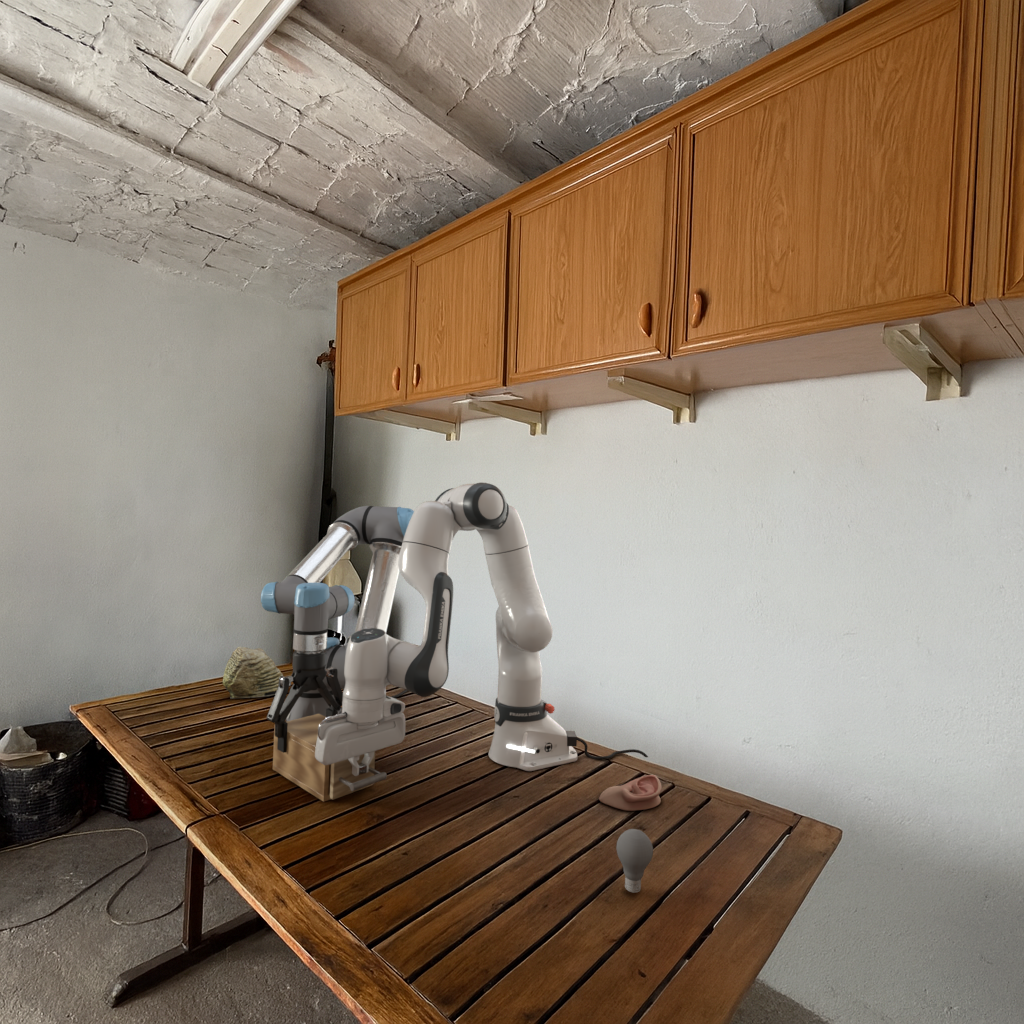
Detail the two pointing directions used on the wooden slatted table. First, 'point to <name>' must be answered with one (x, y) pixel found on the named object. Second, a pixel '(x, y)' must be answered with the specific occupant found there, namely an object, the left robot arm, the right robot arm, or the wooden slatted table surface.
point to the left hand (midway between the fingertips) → (306, 743)
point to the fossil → (251, 674)
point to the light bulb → (634, 857)
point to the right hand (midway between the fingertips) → (360, 773)
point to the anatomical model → (634, 794)
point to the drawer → (351, 778)
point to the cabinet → (303, 757)
